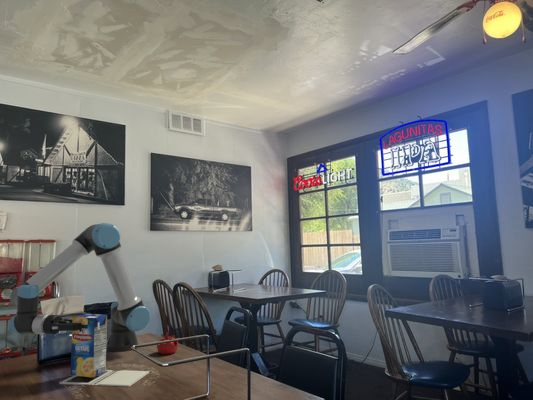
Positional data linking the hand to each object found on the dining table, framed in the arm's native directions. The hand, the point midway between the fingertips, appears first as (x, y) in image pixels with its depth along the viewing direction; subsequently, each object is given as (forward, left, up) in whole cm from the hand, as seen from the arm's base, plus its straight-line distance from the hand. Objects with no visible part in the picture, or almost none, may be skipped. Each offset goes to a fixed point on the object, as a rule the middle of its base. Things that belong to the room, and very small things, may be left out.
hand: (101, 325), depth 155 cm
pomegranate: (-37, +11, -20) cm, 44 cm away
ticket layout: (0, +2, -20) cm, 20 cm away
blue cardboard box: (0, -5, -19) cm, 20 cm away
